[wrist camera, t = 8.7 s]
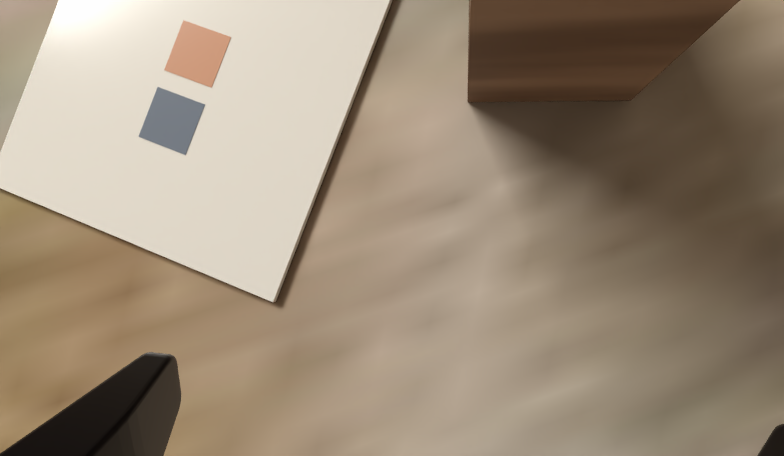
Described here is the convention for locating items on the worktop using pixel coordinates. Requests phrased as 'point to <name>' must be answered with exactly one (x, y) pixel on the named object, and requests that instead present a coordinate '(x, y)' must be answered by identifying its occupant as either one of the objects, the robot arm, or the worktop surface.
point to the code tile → (192, 123)
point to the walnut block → (578, 46)
